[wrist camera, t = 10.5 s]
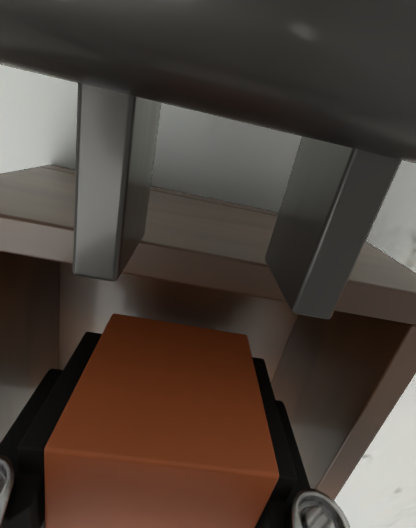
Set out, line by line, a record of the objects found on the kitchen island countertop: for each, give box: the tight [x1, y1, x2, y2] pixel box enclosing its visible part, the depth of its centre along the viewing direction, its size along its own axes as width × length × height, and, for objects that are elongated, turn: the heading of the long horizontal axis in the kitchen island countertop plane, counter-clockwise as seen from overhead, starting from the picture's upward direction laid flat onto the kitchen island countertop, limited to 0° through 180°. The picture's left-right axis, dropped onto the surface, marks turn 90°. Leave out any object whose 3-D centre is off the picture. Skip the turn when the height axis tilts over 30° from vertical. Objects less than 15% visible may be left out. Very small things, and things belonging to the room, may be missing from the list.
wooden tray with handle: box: [0, 0, 416, 500], centre depth 8 cm, size 15×12×9 cm
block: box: [44, 314, 279, 528], centre depth 8 cm, size 4×4×4 cm
